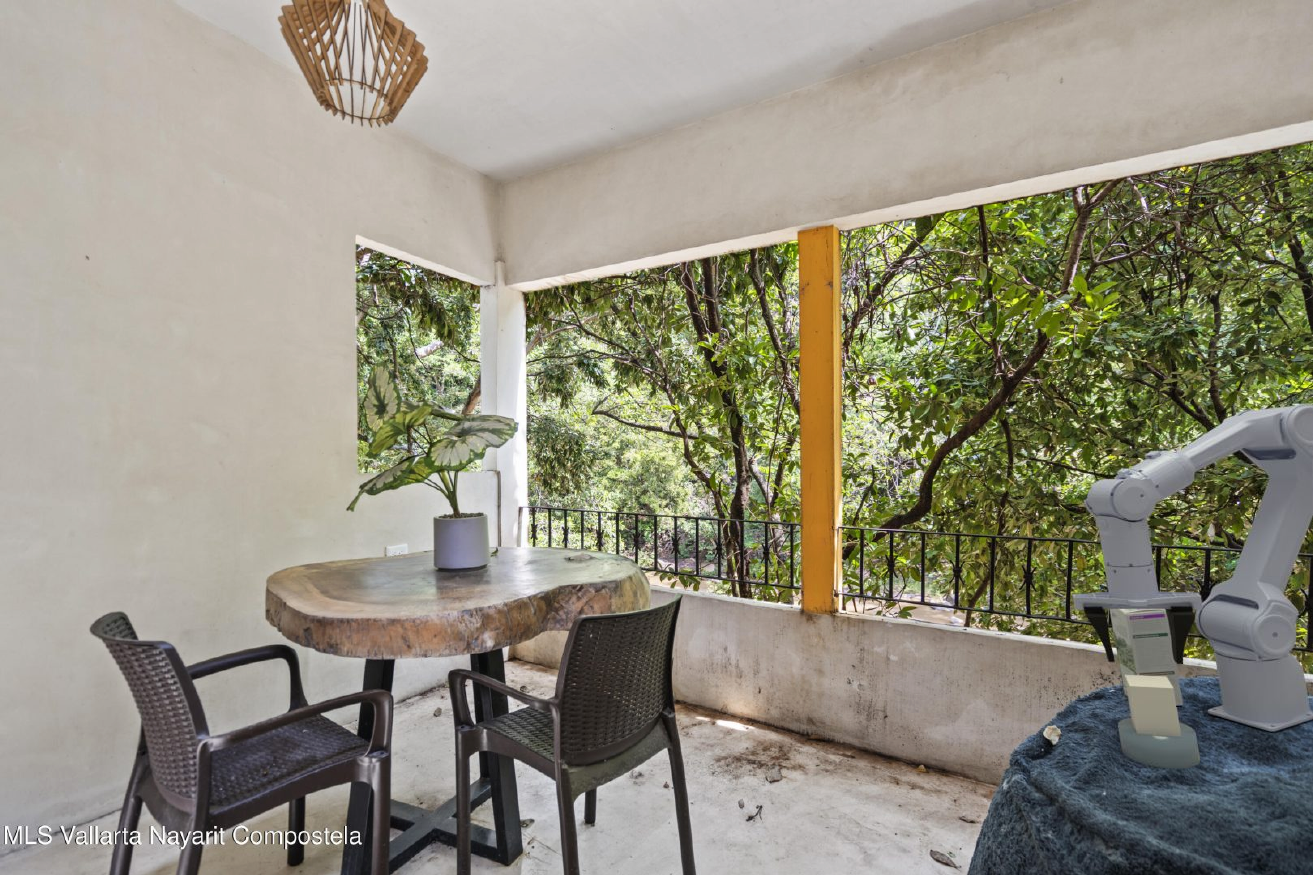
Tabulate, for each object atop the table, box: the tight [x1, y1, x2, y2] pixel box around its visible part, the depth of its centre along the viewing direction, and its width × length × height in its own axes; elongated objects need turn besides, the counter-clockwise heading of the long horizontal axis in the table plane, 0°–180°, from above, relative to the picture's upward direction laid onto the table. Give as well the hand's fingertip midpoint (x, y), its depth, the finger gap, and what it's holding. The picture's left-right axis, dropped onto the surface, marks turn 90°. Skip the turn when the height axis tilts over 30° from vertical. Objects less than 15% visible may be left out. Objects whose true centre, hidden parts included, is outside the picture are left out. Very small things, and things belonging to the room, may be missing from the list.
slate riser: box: [1117, 716, 1201, 770], centre depth 83 cm, size 8×8×4 cm
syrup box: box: [1109, 609, 1184, 706], centre depth 99 cm, size 6×6×14 cm
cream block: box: [1125, 675, 1181, 737], centre depth 84 cm, size 4×4×6 cm
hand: (1144, 661), depth 90 cm, fingers open, 7 cm apart
